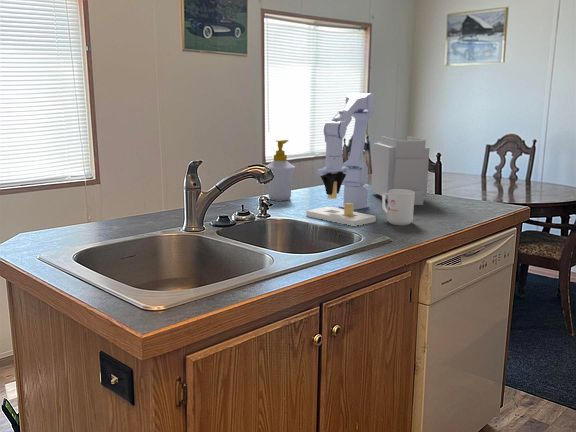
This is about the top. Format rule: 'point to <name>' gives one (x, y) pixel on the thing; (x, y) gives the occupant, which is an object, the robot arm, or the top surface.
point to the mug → (399, 206)
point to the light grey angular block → (400, 166)
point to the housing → (340, 216)
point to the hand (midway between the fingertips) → (332, 193)
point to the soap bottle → (281, 175)
